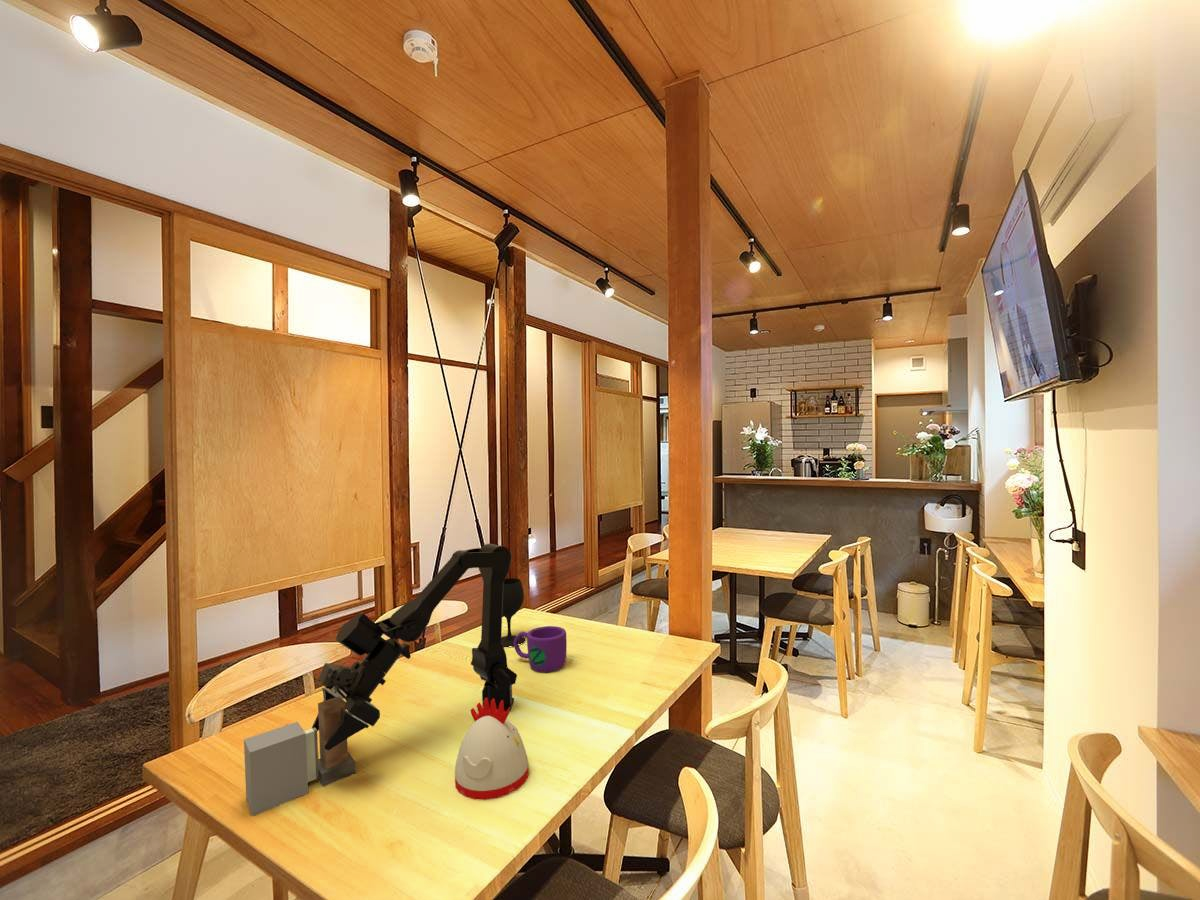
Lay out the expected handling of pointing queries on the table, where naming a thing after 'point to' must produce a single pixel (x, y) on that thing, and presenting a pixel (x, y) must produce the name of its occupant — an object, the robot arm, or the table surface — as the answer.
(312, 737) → the pocket door
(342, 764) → the wooden post on base
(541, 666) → the mug
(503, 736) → the kitchen timer
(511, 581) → the wine glass
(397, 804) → the table surface
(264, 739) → the pocket wall
